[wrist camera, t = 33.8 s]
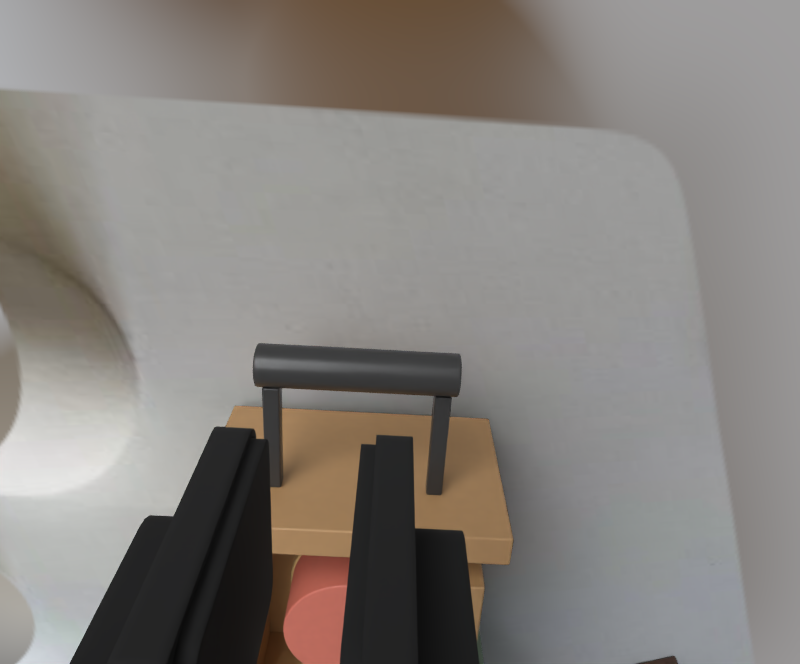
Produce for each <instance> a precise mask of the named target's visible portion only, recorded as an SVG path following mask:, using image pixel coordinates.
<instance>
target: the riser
mask: <svg viewBox="0 0 800 664" xmlns="http://www.w3.org/2000/svg"><path fill="white" fill-rule="evenodd" d="M639 664H678V663H677V660H676V658H675V657H674V656H671V657H667V658H662V659H658V660H653V661H649V662H644V663H639Z"/></svg>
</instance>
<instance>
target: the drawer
mask: <svg viewBox="0 0 800 664" xmlns="http://www.w3.org/2000/svg"><path fill="white" fill-rule="evenodd" d="M461 373H462V364H461V356H460V354H453V353H434V352H416V351H397V350H378V349H359V348H341V347H322V346H303V345H284V344H265V343H259V344H258V345H257V347H256V349H255V353H254V360H253V380H254V384H255V386H257V387H263V388H262V401H263V407H249V406H234V409H233V411H232V413H231V416H230V418H229V420H228V423H227V425H226V427H235V428H254V430H255V433H256V439H267V440H268V442H269V458H270V492H271V526H272V560H273V587H272V596H271V602H270V607H269V611H268V615H267V620H266V624H265V629H264V633H263V638H262V642H261V646H260V651H259V655H258V660H257V664H303V663H302V662H301V661H299V660H298V659H297V658H296V657H295V656H294V655H293V654H292V652H291V651H290V649H289V648H288V646H287V644H286V641H285V638H284V633H283V624H284V619H285V613H286V608H287V603H288V598H289V593H290V588H291V571H292V566H293V561H294V557H295V555H307V556H329V557H350V551H351V541H352V531H353V521H354V511H355V501H356V490H357V480H358V470H359V460H360V450H361V444H374V445H376V435H393V436H412V437H413V453H414V500H415V528H421V529H442V530H462V531H463V533H464V537H465V543H466V552H467V560H468V569H469V578H470V586H471V595H472V604H473V612H474V621H475V630H476V638H477V639H478V632H479V625H480V619H481V612H482V605H483V598H484V591H485V585H484V578H483V570H482V564H498V565H509V564H510V559H511V553H512V547H513V541H514V539H513V535H512V530H511V525H510V520H509V515H508V510H507V506H506V501H505V496H504V491H503V486H502V481H501V476H500V472H499V467H498V462H497V457H496V452H495V447H494V443H493V438H492V433H491V428H490V423H489V419H483V418H463V417H450V411H451V402H452V397H457V396H458V395H459V392H460V386H461ZM282 388H292V389H311V390H330V391H349V392H369V393H388V394H407V395H426V396H434V398H433V409H432V416H424V415H405V414H386V413H366V412H347V411H327V410H308V409H288V408H282Z"/></svg>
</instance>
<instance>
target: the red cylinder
mask: <svg viewBox="0 0 800 664" xmlns="http://www.w3.org/2000/svg"><path fill="white" fill-rule="evenodd" d="M349 561H350V557H329V556H307V555H295V557H294V561H293V566H292V571H291V588H290V593H289V598H288V603H287V608H286V613H285V619H284V624H283V633H284V638H285V641H286V644H287V646H288V648H289V649H290V651H291V652H292V654H293V655H294V656H295V657H296V658H297V659H298V660H299V661H301V662H302V663H303V664H340V653H341V642H342V632H343V622H344V612H345V602H346V591H347V581H348V571H349Z"/></svg>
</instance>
